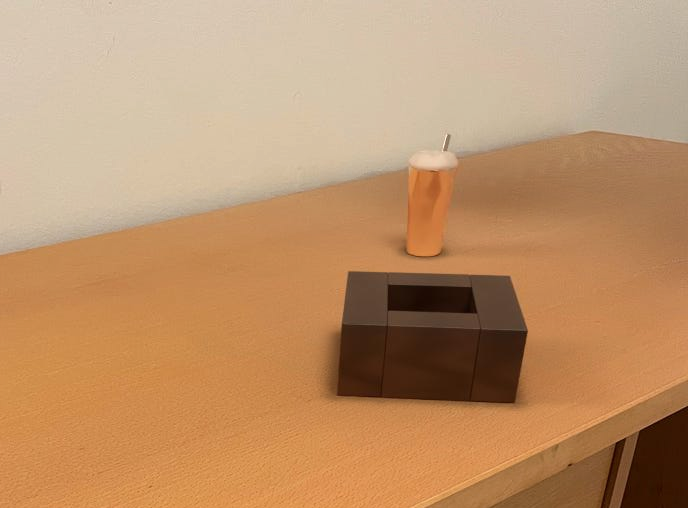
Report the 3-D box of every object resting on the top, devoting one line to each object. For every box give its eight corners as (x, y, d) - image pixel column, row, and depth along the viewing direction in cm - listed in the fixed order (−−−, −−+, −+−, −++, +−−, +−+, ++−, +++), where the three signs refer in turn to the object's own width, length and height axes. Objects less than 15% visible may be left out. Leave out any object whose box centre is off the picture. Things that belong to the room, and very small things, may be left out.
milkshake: (457, 248, 96) (472, 136, 90) (435, 261, 93) (449, 145, 87) (415, 241, 98) (426, 132, 93) (392, 254, 95) (402, 141, 89)
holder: (499, 341, 75) (510, 275, 72) (515, 403, 66) (528, 329, 63) (343, 335, 77) (348, 270, 74) (336, 395, 67) (341, 323, 64)
